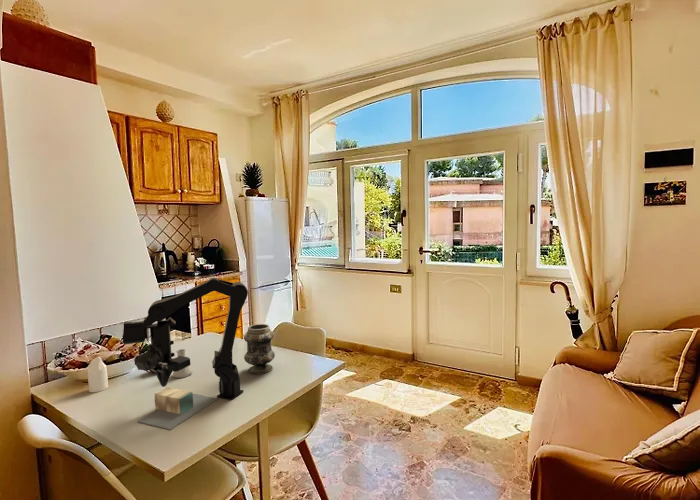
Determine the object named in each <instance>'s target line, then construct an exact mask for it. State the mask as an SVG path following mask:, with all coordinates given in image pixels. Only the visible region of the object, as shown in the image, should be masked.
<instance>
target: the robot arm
mask: <svg viewBox="0 0 700 500" xmlns="http://www.w3.org/2000/svg"><path fill="white" fill-rule="evenodd" d="M212 292H215V293H216V292H217V293H220V294H222V295H224V296H228V312H227V316H226V321H225V326H224V331H223V336H222V340H221V346H220V348H219V349H218V350H214V353H213V354H214V357H213V359H212V361H211V363H212V369H214V370H213V371H214V374H215V375H216V377H218V380H219V381H218V389H219V394H217V395H216V398H221V399H225V400H230V401H232V400H235V398H237V397H238V396H240V395H241V394H242V393H244V389H243V390H242V389H241V378H240V374H239V369H238V366H237V365H236V364H235V363H233V349H234V348H233V347H234V344H235V338H236V335H237V334H236V333H237V330H238V325H239V318H240V313H241V310H242V309H243V307H244V305H245V303H246V300H247V298H248V296H249V295H248V294H249V291H248V288H247V286H246V285H245V284H244V283H243V282H240V281H236V282H231V281H228V280H223V279H220V278H216V277H211V278H209V279H207V280H206V281H204V282H202V283H200V284H198V285H195V286H193V287H191V288H189V289H188V290H185V291H183V292H181V293H178V294H177V295H174V296H168V297H164V298H161V299H157V300H155V301H153V302H152V303H151V305H150V307H149V308H148V310H147V316H145V317H144V319H143V320H140V321H127V322H124V324H123V328H122V329H123V330H122V331H123V332H122V343H123V345H131V344H132V345H133V344H139V343H146V342H145V341H146V339H149V338H150V344H148V345H147V350H146V351H145V352H143V353H140V354H138V355H136V356H135V357H134V358H133V359H134V361H133V362H134V365H135V366H136V368H137V370H139V371H144V372H147V371H149V370H152V371H154V372H155V374H154V375H155V376H156V378H157V379H158V381H159V384H160V386H161V387H163V388H166V386H168V385H167V384H168V383H169V379H170V378H171V375H172V374H173V372H174V371H175V372H176V371H179V370H181V369H184V368H186V367H188V366H190V367H191V358H189V356H186V357H184V356H179V357H178V356H176V357H175V355H176V354H175V352H172V345H174V344H175V343H174V340H172V339H171V328H170V327H173V326H176V324H177V323H176V322H177V321H176V320H174V319H173V318H172V317H171V315H172V314H174V313H175V312H176V311H177V310H178V309H180V308H181V307H184V306H185V305H188V304H189V303H191V302H194V301H196V300H198V299H200V298H203V297H204V296H206V295H208V294H210V293H212ZM169 316H170V317H169ZM168 317H169V318H168ZM166 318H168V319H166ZM149 331H150V332H149ZM149 335H150V337H149ZM173 357H174V358H173Z"/></svg>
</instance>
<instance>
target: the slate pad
mask: <svg viewBox="0 0 700 500" xmlns="http://www.w3.org/2000/svg"><path fill="white" fill-rule="evenodd" d="M218 399H219V397H214V396H209V395H203V394H198V393H193V407H192V408H191V409H189V410H188V411H186V412H184V413H183V414H177V413H173V412H168V411H164V410H159V409H156V410H154V411H153V412H150V413H149V414H147V415H145V416H143V417H142V418H140V419H138V420H137V421H136V422H137V423H140V424H144V425H149V426H152V427H155V428H156V427H157V428H160V429H164V430H169V431H172V430H173V429H174V428H176V427H178V426H179V425H181V424H182V423H184V422H185V421H187V420H188V419H190V418H192V417H193V416H194V415H196V414H198V413H199V412H201V411H202V410H204V409H205V408H207V407H209V406H210V405H211V404H212V403H214V402H216V401H217V400H218Z"/></svg>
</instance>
